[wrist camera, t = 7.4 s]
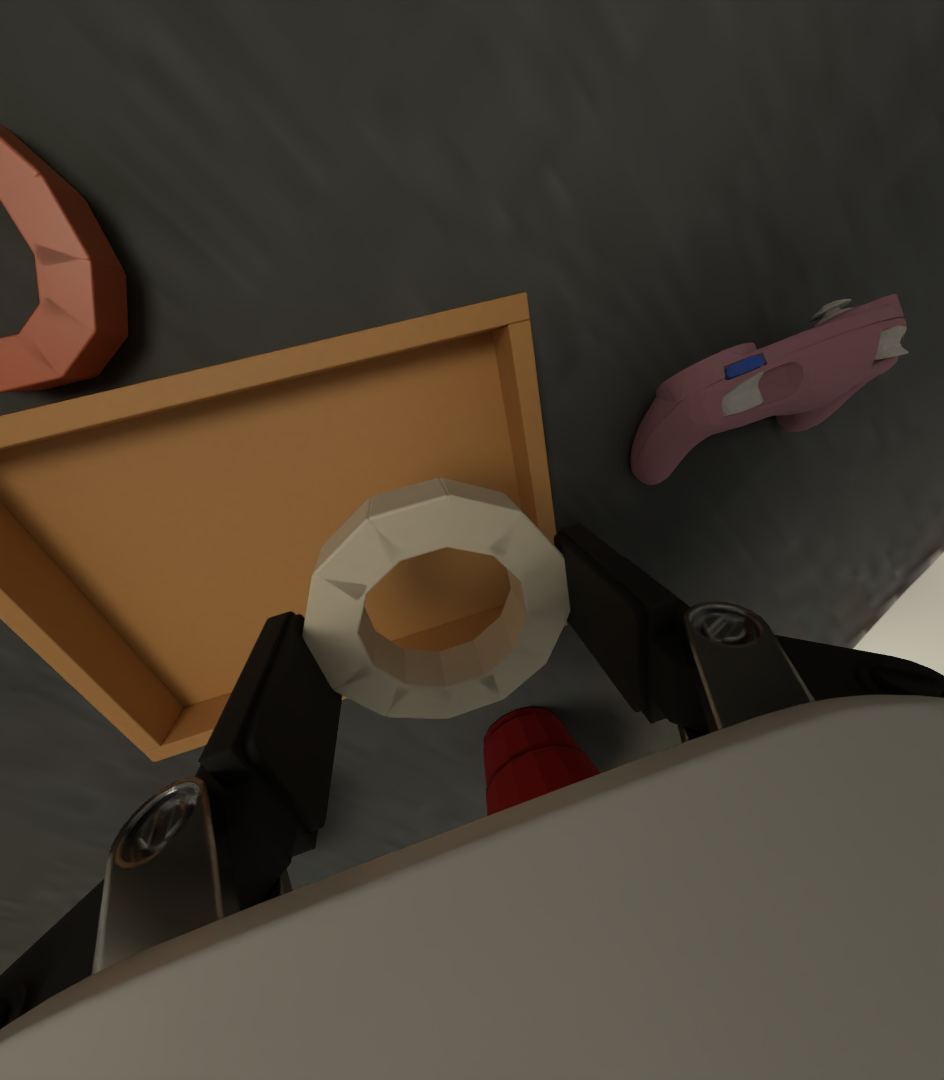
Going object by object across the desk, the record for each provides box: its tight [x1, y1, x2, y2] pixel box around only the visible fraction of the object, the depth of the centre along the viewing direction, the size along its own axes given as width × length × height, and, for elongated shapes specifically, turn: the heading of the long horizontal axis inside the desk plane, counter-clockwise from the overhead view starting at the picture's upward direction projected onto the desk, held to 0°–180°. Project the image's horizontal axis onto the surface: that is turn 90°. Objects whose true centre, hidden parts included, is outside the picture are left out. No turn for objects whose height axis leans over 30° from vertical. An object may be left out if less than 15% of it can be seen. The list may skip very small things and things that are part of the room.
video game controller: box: [630, 294, 909, 485], centre depth 15 cm, size 10×5×7 cm, turn 106°
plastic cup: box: [483, 707, 601, 816], centre depth 21 cm, size 11×11×12 cm
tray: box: [0, 292, 567, 762], centre depth 15 cm, size 15×21×3 cm
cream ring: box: [302, 478, 570, 719], centre depth 10 cm, size 7×7×2 cm
